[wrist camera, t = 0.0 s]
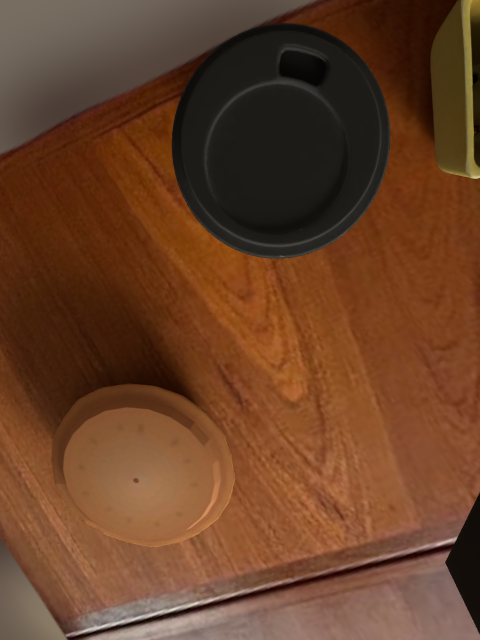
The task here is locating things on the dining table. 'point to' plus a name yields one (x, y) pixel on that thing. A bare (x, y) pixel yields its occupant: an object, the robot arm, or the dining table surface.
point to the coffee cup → (280, 140)
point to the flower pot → (457, 90)
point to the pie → (142, 464)
